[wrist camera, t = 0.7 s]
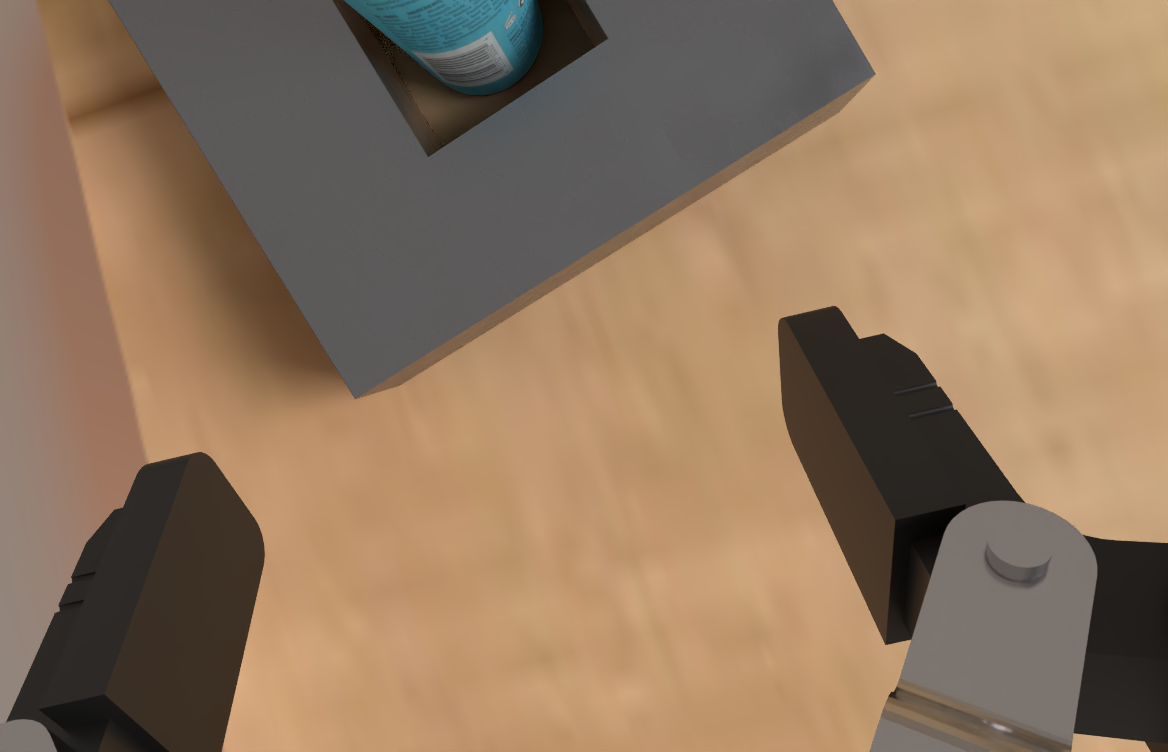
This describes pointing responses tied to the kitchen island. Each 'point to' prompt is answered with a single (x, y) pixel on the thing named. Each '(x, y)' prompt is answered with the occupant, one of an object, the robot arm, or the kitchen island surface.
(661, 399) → the kitchen island surface
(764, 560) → the kitchen island surface
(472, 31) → the tube
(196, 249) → the kitchen island surface
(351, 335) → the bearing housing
